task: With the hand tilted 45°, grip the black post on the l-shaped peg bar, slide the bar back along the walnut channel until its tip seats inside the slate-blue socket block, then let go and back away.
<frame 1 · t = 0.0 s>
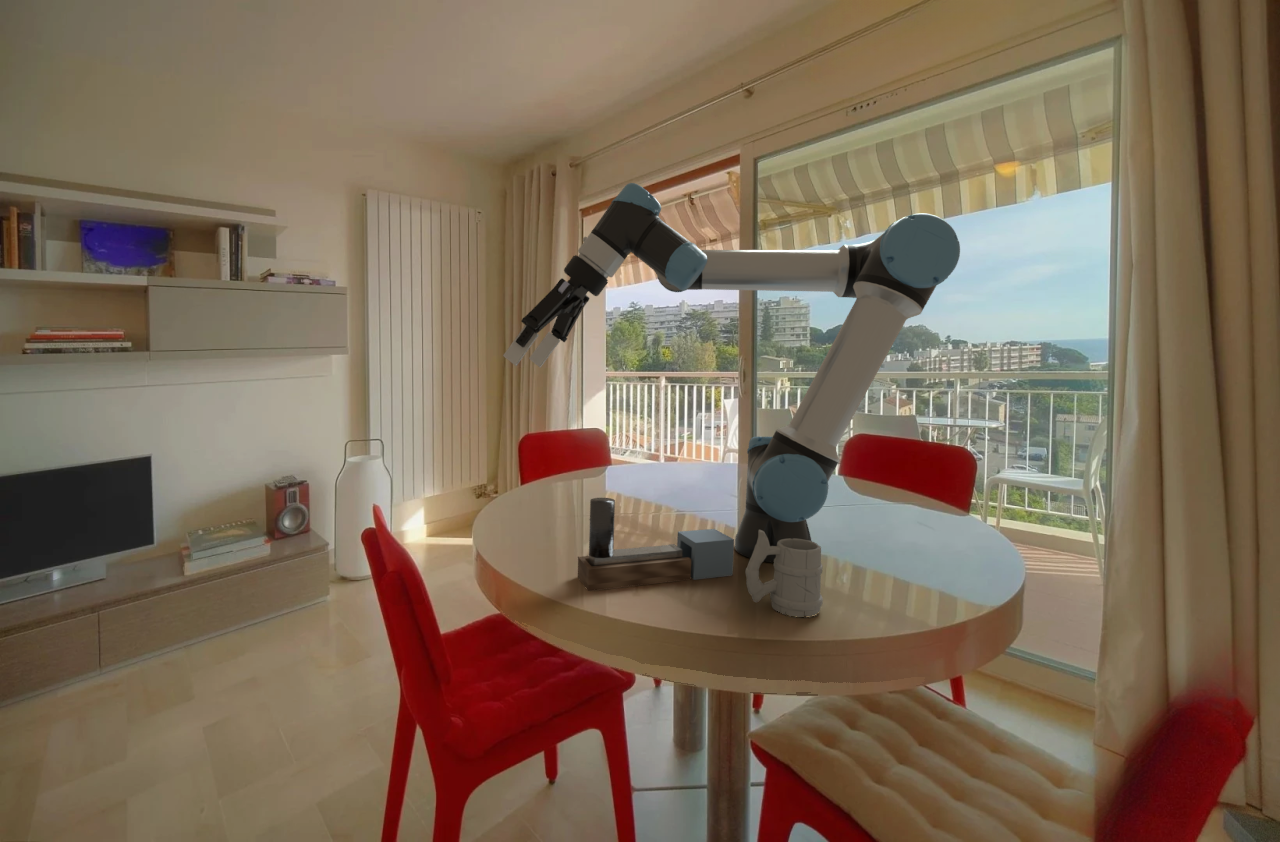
hand: (522, 362, 101), 36 cm above the table, tool tilted 35°, fingers open, 13 cm apart
mug: (782, 609, 84), on the table
walnut channel: (634, 578, 94), on the table
socket block: (703, 570, 99), on the table
l-shaped peg bar: (635, 534, 94), point 7 cm above the table, slide at 0.0 cm
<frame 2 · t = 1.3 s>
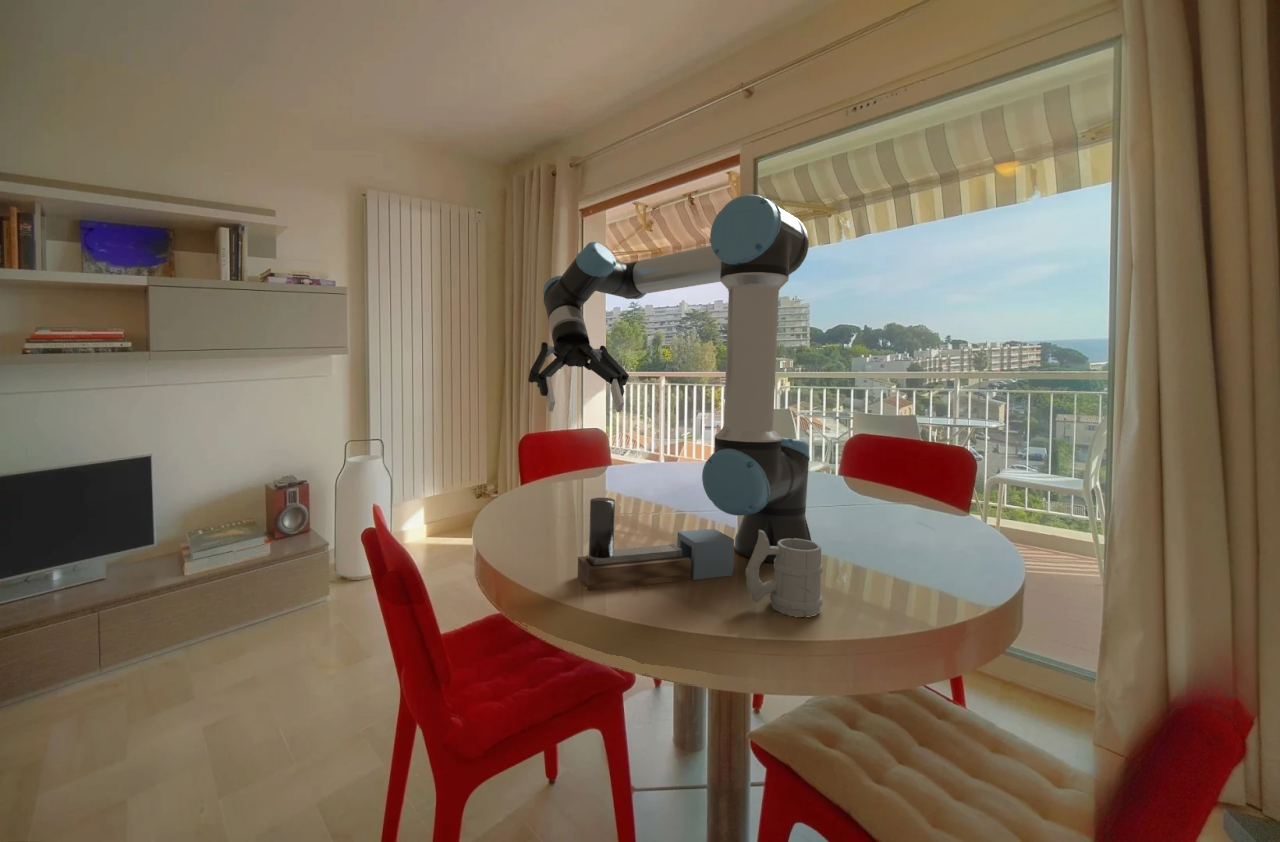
hand: (587, 407, 107), 28 cm above the table, tool tilted 45°, fingers open, 13 cm apart
nothing on the table moved.
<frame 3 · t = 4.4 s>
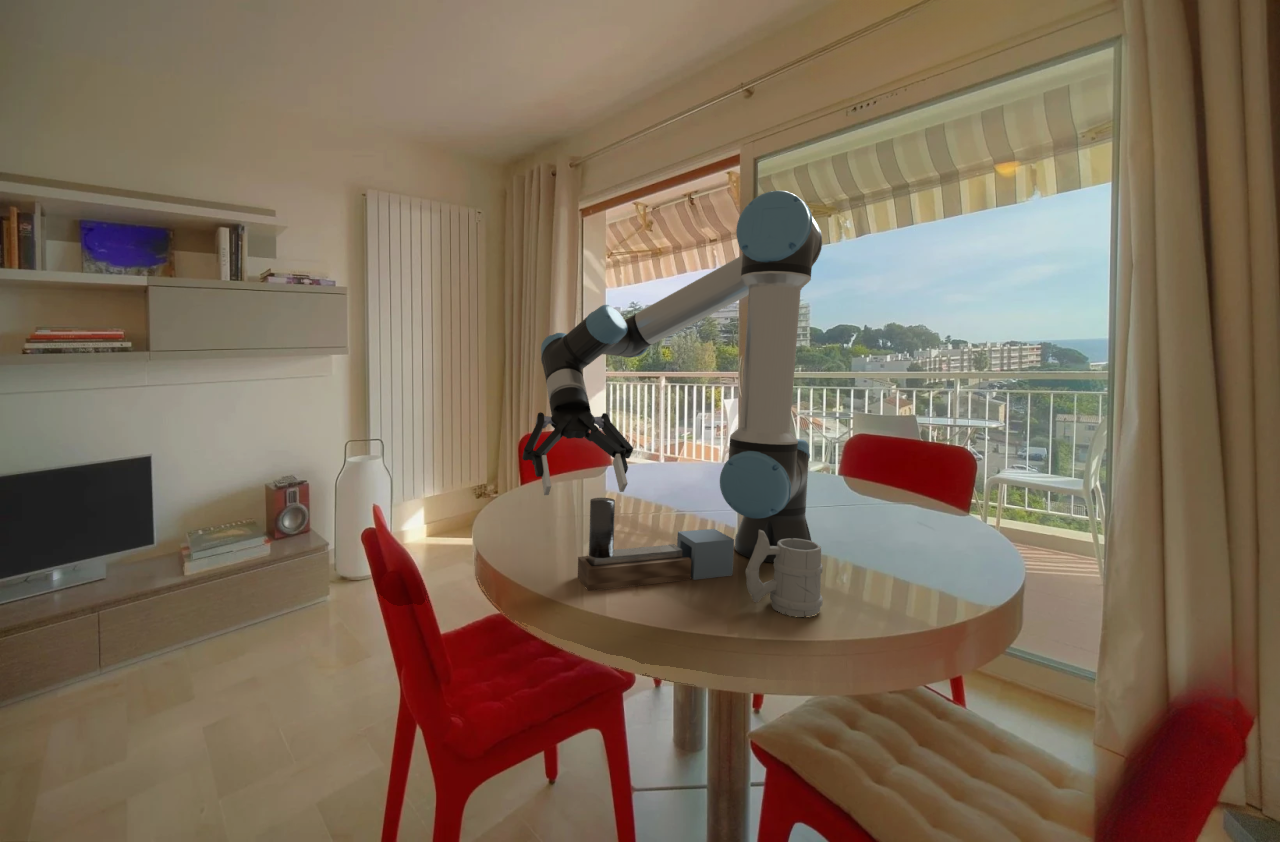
hand: (586, 489, 97), 14 cm above the table, tool tilted 45°, fingers open, 13 cm apart
nothing on the table moved.
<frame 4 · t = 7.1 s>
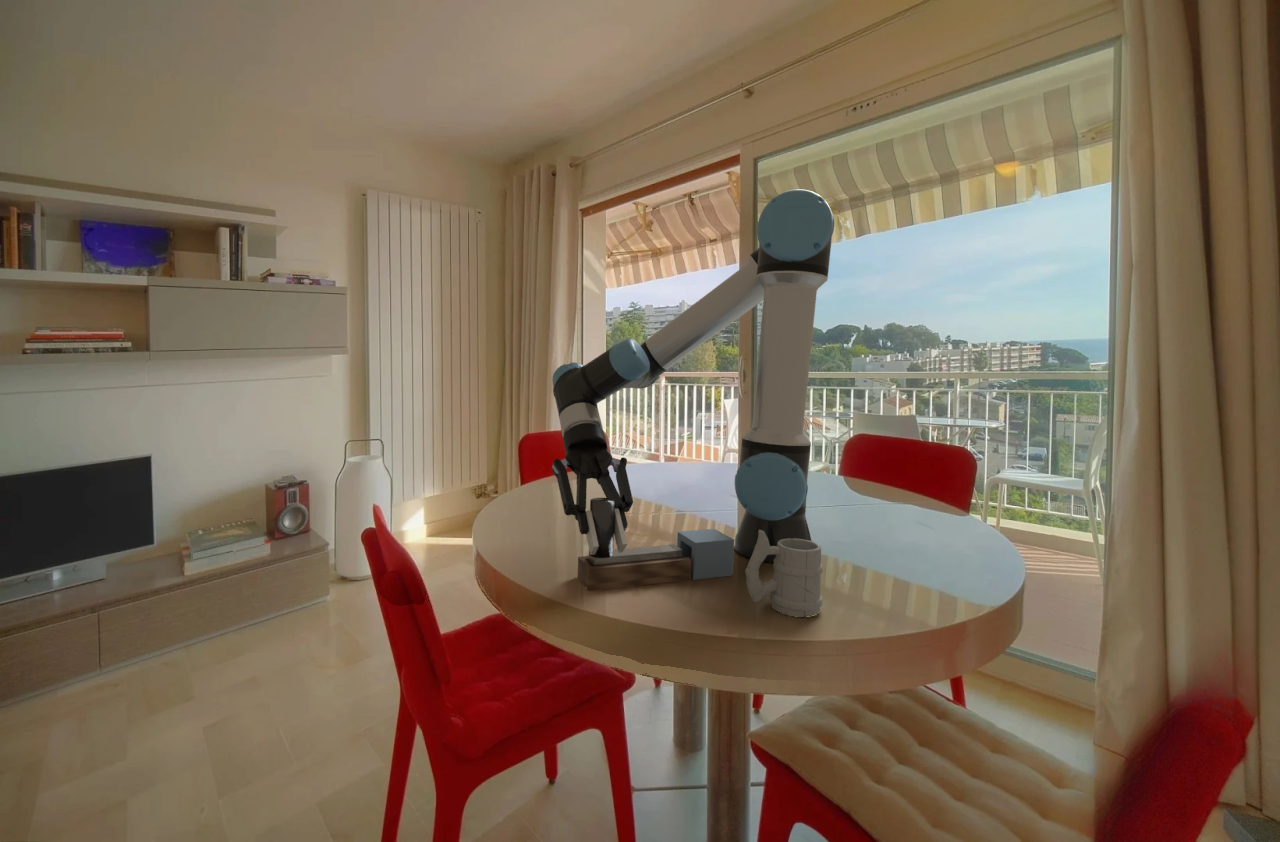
hand: (608, 549, 88), 7 cm above the table, tool tilted 45°, fingers closed on l-shaped peg bar, 4 cm apart
l-shaped peg bar: (635, 534, 94), point 7 cm above the table, slide at 0.0 cm, touching gripper
everything else where it was.
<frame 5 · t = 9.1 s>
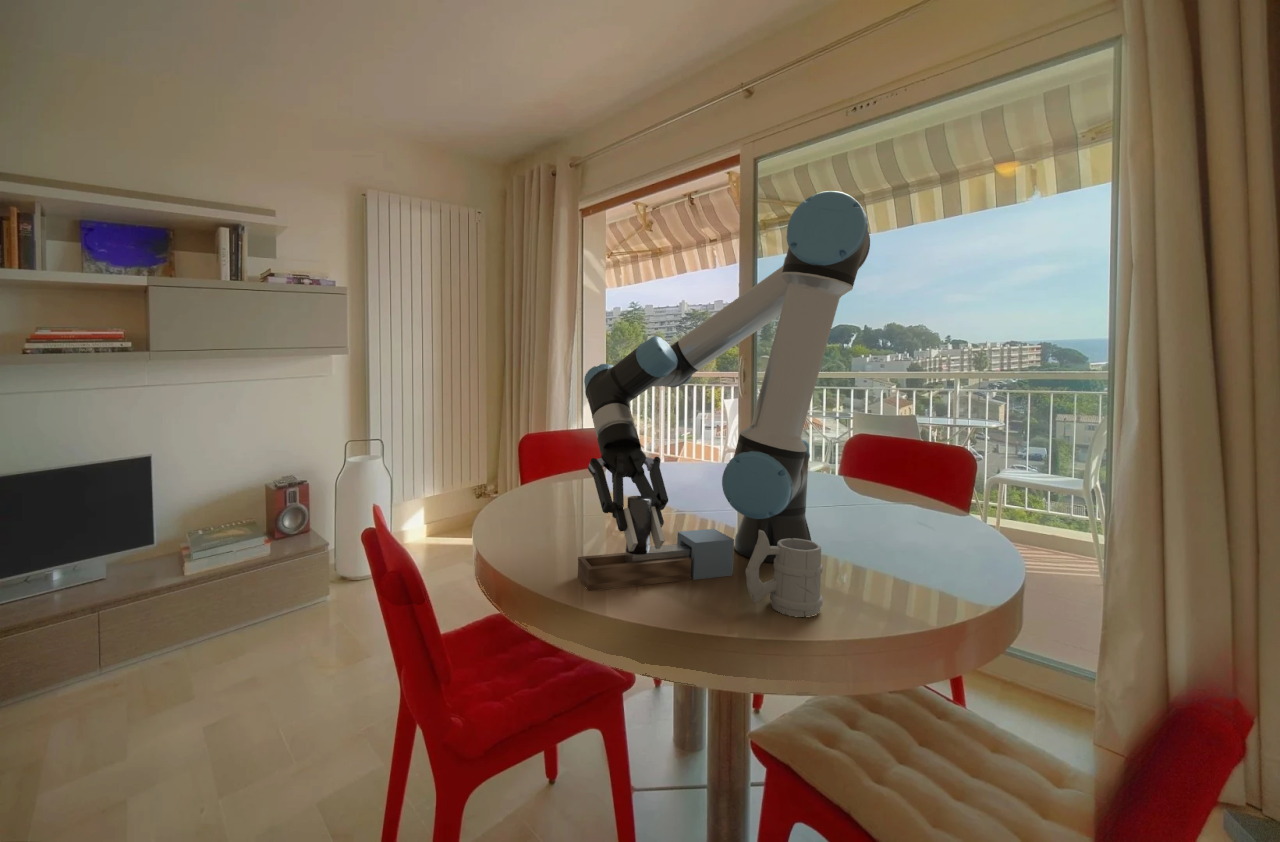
hand: (646, 545, 90), 7 cm above the table, tool tilted 45°, fingers closed on l-shaped peg bar, 4 cm apart
l-shaped peg bar: (670, 532, 96), point 7 cm above the table, slide at 6.5 cm, touching gripper
everything else where it was.
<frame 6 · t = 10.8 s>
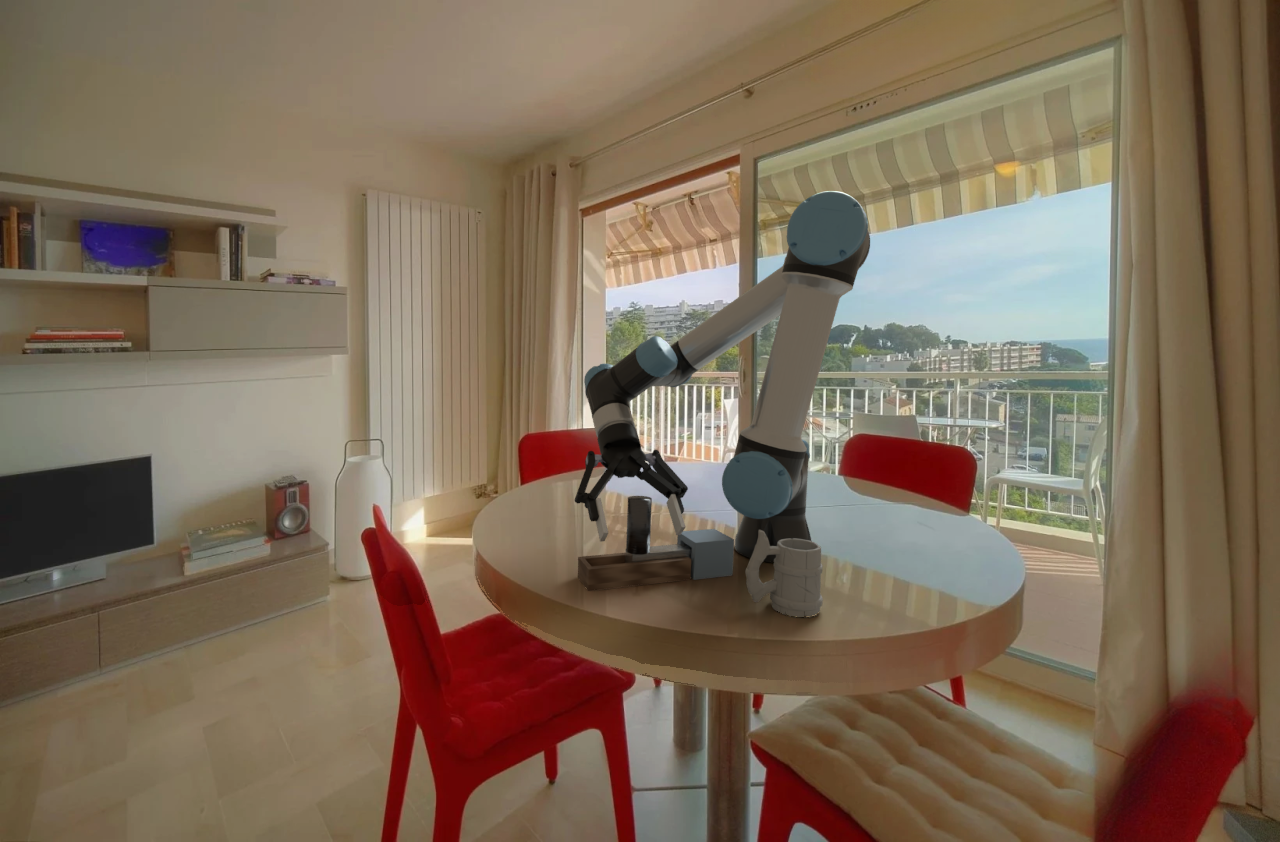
hand: (643, 534, 92), 8 cm above the table, tool tilted 45°, fingers open, 13 cm apart
l-shaped peg bar: (670, 532, 96), point 7 cm above the table, slide at 6.5 cm
everything else where it was.
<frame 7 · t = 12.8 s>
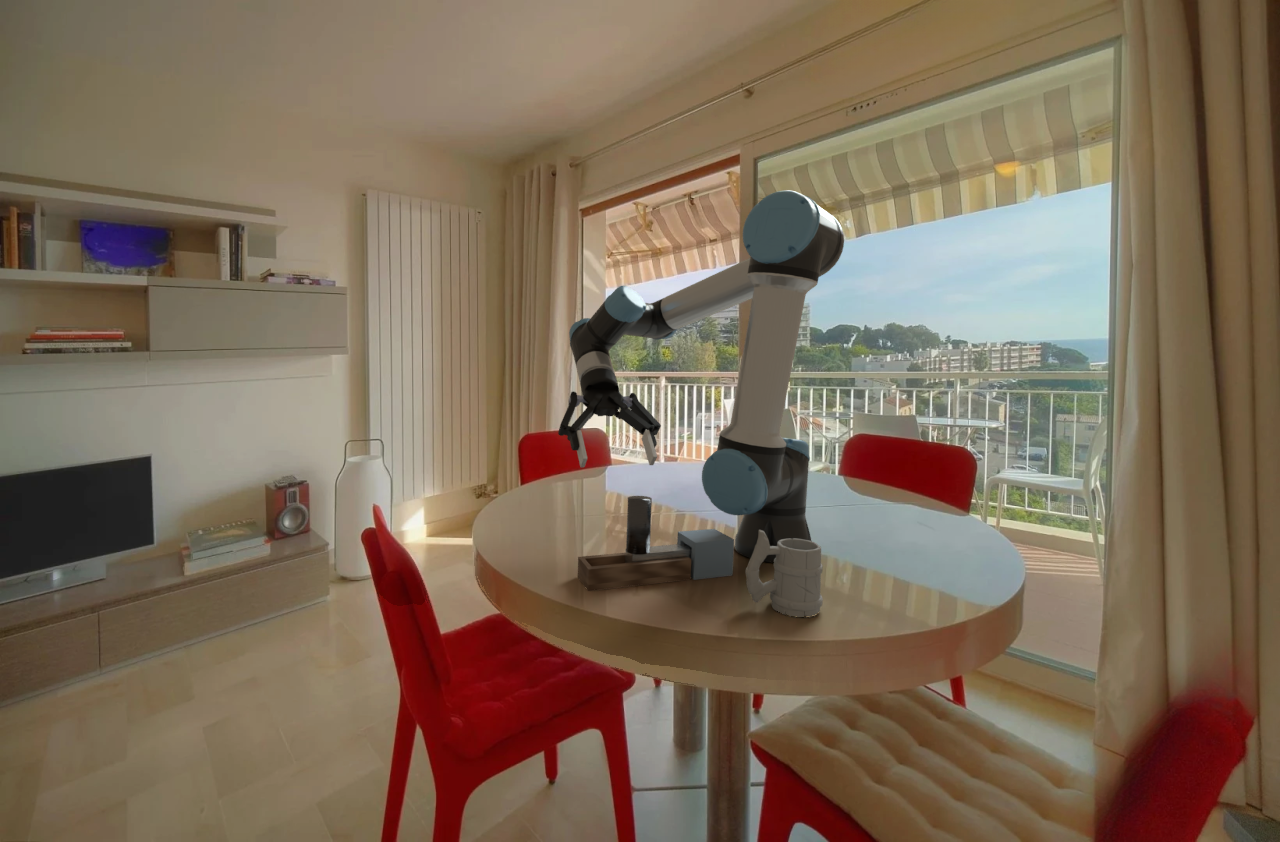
hand: (619, 462, 103), 18 cm above the table, tool tilted 45°, fingers open, 13 cm apart
nothing on the table moved.
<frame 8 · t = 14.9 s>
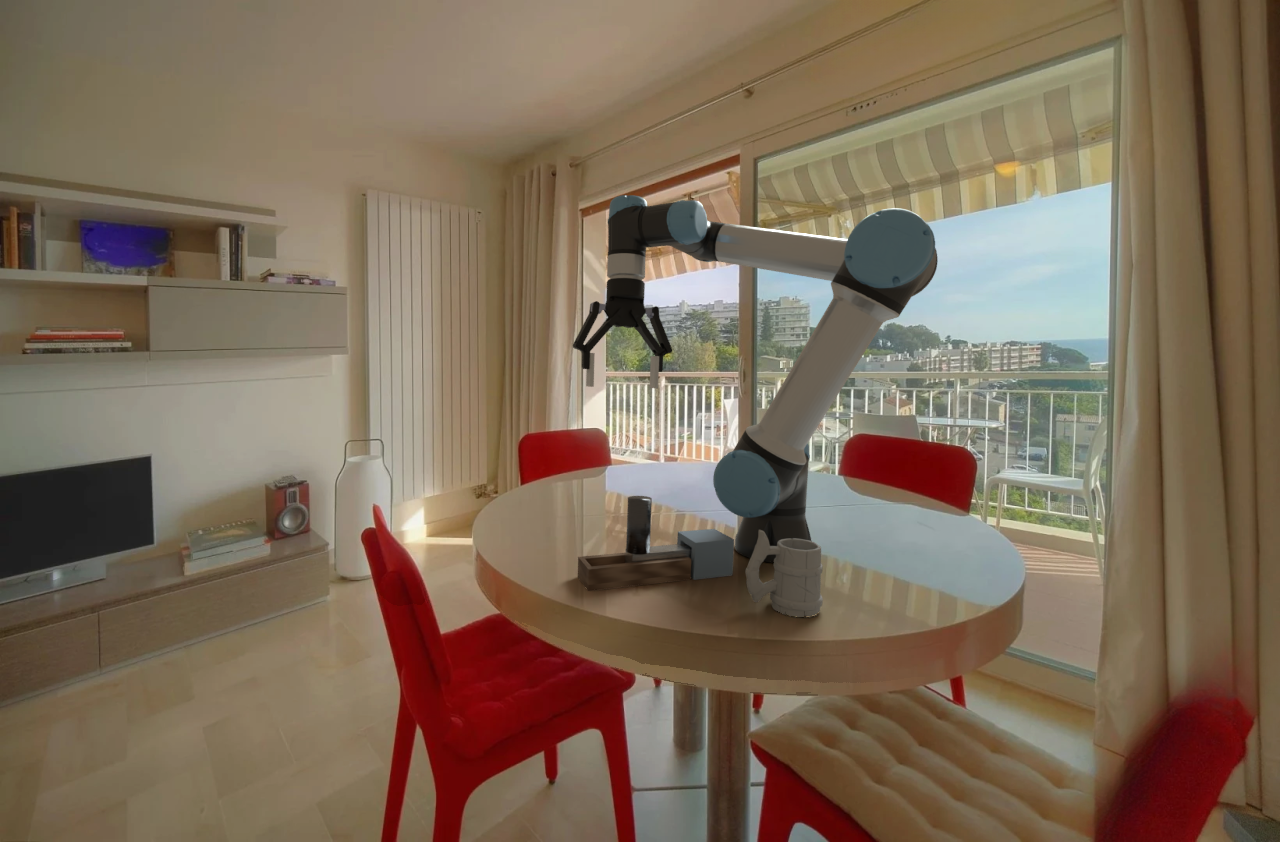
hand: (622, 387, 112), 32 cm above the table, tool pointing down, fingers open, 13 cm apart
nothing on the table moved.
at the end: l-shaped peg bar slide at 6.5 cm; the gripper is holding nothing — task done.
